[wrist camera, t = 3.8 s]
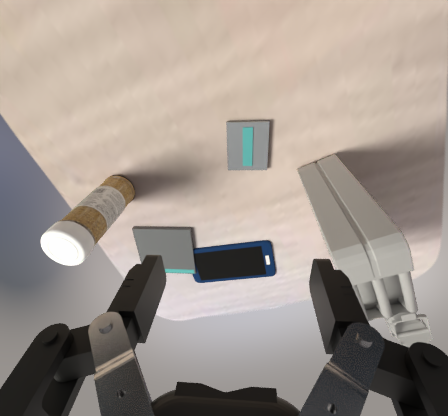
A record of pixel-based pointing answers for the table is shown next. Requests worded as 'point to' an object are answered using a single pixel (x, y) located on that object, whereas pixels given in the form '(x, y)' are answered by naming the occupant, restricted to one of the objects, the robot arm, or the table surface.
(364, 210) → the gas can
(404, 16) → the table surface
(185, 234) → the mat
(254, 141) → the label tag
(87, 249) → the sprinkles bottle
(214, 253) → the cell phone
